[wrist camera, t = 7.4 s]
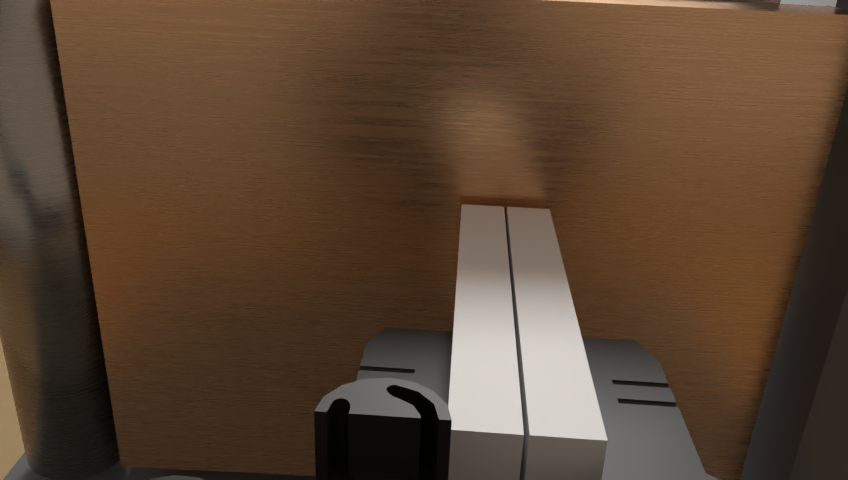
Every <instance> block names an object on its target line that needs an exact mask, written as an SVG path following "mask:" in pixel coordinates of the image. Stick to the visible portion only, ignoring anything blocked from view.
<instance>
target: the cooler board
mask: <svg viewBox="0 0 848 480" xmlns="http://www.w3.org/2000/svg"><path fill="white" fill-rule="evenodd" d="M836 8H840V9H843V10H847V11H848V0H837V4H836ZM173 475H178V476H188V477H198V478H201V479H204V480H316V476H299V475H280V474H260V473H240V472H221V471H201V470H182V469H162V468H142V467H123V466H121V463H120V461H119V462H118V463H116V464H115V465H113V466H112V467H110V468H108V469H106V470H104V471H102V472H100V473H97V474H95V475H91V476H88V477H84V478H80V479H73V480H147V479H153V478H160V477H166V476H173ZM3 480H54V479H48V478H45V477H42V476H40V475H38V474H36V473H35V472H33V471H32V470H31V468H30V467H29V465H28V462H27V458H26V453H24V454H23V455H22V457H21V458H20V459H19V460H18V462H17V463H16V464H15V465H14V467H13V468H12V469H11V470H10V472H9V473H8V474H7V475H6V477H5V478H4V479H3ZM740 480H848V88H847V91H846V95H845V99H844V102H843V106H842V110H841V113H840V117H839V121H838V124H837V128H836V131H835V135H834V139H833V142H832V146H831V150H830V153H829V157H828V161H827V164H826V168H825V172H824V175H823V179H822V183H821V186H820V190H819V193H818V197H817V201H816V204H815V208H814V212H813V215H812V219H811V223H810V226H809V230H808V234H807V237H806V241H805V244H804V248H803V252H802V255H801V259H800V263H799V266H798V270H797V274H796V277H795V281H794V285H793V288H792V292H791V295H790V299H789V303H788V306H787V310H786V314H785V317H784V321H783V325H782V328H781V332H780V336H779V339H778V343H777V347H776V350H775V354H774V357H773V361H772V365H771V368H770V372H769V376H768V379H767V383H766V387H765V390H764V394H763V398H762V401H761V405H760V408H759V412H758V416H757V419H756V423H755V427H754V430H753V434H752V438H751V441H750V445H749V449H748V452H747V456H746V459H745V463H744V467H743V470H742V474H741V478H740Z"/></svg>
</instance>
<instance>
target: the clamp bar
mask: <svg viewBox="0 0 848 480" xmlns="http://www.w3.org/2000/svg"><path fill="white" fill-rule="evenodd" d="M847 88H848V11H847V10H843V9H840V8H836V7H832V6H812V5H791V4H790V5H789V4H770V3H750V2H729V1H709V0H0V337H1V342H2V346H3V351H4V356H5V360H6V365H7V370H8V374H9V379H10V383H11V388H12V393H13V397H14V402H15V407H16V411H17V416H18V421H19V425H20V430H21V434H22V439H23V444H24V448H25V453H26V458H27V462H28V465H29V467H30V468H31V470H32V471H33V472H35V473H36V474H38V475H40V476H42V477H45V478H48V479H54V480H73V479H80V478H84V477H88V476H91V475H95V474H97V473H100V472H102V471H104V470H106V469H108V468H110V467H112V466H113V465H115V464H116V463H118V462H119V461H120V463H121V466H123V467H142V468H162V469H182V470H201V471H221V472H240V473H260V474H280V475H299V476H316V474H315V434H314V410H315V409H316V407H317V406H318V404H319V403H320V402H321V400H322V399H323V397H324V396H325V395H327V394H329V393H330V392H332V391H333V390H335V389H337V388H338V387H340V386H341V385H344V384H348V383H351V382H355V381H356V379H357V375H358V372H359V370H360V364H361V361H362V357H363V353H364V350H365V346H366V344H367V343H368V342H369V341H370V340H371V339H372V338H374V337H375V336H376V335H377V334H378V333H379V332H380V331H381V330H382V329H384V328H385V327H391V328H407V329H422V330H438V331H453V327H454V311H455V296H456V281H457V265H458V250H459V235H460V220H461V204H466V205H484V206H502V207H504V212H505V223H506V211H507V207H520V208H538V209H550V213H551V217H552V221H553V225H554V229H555V233H556V237H557V241H558V245H559V249H560V253H561V257H562V261H563V264H564V268H565V272H566V276H567V280H568V284H569V288H570V292H571V296H572V300H573V304H574V308H575V312H576V316H577V320H578V324H579V328H580V332H581V336H582V337H587V338H603V339H619V340H634V341H637V342H638V343H640V344H641V345H642V346H643V347H644V348H645V349H646V350H647V351H649V352H650V353H651V354H652V355H653V356H654V357H655V358H656V359H658V360H659V362H660V364H661V367H662V369H663V372H664V374H665V376H666V379H667V381H668V388H671V391H672V393H673V396H674V398H675V400H676V407H678V408H679V410H680V412H681V415H682V417H683V420H684V422H685V424H686V427H687V429H688V432H689V434H690V436H691V439H692V441H693V444H694V446H695V449H696V451H697V453H698V456H699V458H700V461H701V463H702V465H703V468H704V470H705V473H706V474H709V475H711V476H713V477H715V478H717V479H718V480H740V478H741V474H742V470H743V467H744V463H745V459H746V456H747V452H748V449H749V445H750V441H751V438H752V434H753V430H754V427H755V423H756V419H757V416H758V412H759V408H760V405H761V401H762V398H763V394H764V390H765V387H766V383H767V379H768V376H769V372H770V368H771V365H772V361H773V357H774V354H775V350H776V347H777V343H778V339H779V336H780V332H781V328H782V325H783V321H784V317H785V314H786V310H787V306H788V303H789V299H790V295H791V292H792V288H793V285H794V281H795V277H796V274H797V270H798V266H799V263H800V259H801V255H802V252H803V248H804V244H805V241H806V237H807V234H808V230H809V226H810V223H811V219H812V215H813V212H814V208H815V204H816V201H817V197H818V193H819V190H820V186H821V183H822V179H823V175H824V172H825V168H826V164H827V161H828V157H829V153H830V150H831V146H832V142H833V139H834V135H835V131H836V128H837V124H838V121H839V117H840V113H841V110H842V106H843V102H844V99H845V95H846V91H847Z"/></svg>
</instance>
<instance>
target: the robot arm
mask: <svg viewBox="0 0 848 480" xmlns="http://www.w3.org/2000/svg"><path fill="white" fill-rule="evenodd" d="M314 434H315V474H316V480H718V479H717V478H715V477H713V476H711V475H709V474H706V473H705V470H704V468H703V465H702V463H701V461H700V458H699V456H698V453H697V451H696V449H695V446H694V444H693V441H692V439H691V436H690V434H689V432H688V429H687V427H686V424H685V422H684V420H683V417H682V415H681V412H680V410H679V408H678V407H676V400H675V398H674V396H673V393H672V391H671V388H668V381H667V379H666V376H665V374H664V372H663V369H662V367H661V364H660V362H659V360H658V359H656V358H655V357H654V356H653V355H652V354H651V353H650V352H649V351H647V350H646V349H645V348H644V347H643V346H642V345H641V344H640V343H638V342H637V341H634V340H619V339H603V338H587V337H582V336H581V332H580V328H579V324H578V320H577V316H576V312H575V308H574V304H573V300H572V296H571V292H570V288H569V284H568V280H567V276H566V272H565V268H564V264H563V261H562V257H561V253H560V249H559V245H558V241H557V237H556V233H555V229H554V225H553V221H552V217H551V213H550V209H538V208H520V207H507V211H506V223H505V212H504V207H502V206H484V205H466V204H461V220H460V235H459V250H458V265H457V281H456V296H455V311H454V327H453V331H438V330H422V329H407V328H391V327H385V328H384V329H382V330H381V331H380V332H379V333H378V334H377V335H376V336H375V337H374V338H372V339H371V340H370V341H369V342H368V343H367V344H366V346H365V350H364V353H363V357H362V361H361V364H360V370H359V372H358V375H357V379H356V381H355V382H351V383H348V384H344V385H341V386H340V387H338V388H337V389H335V390H333V391H332V392H330V393H329V394H327V395H325V396H324V397H323V399H322V400H321V402H320V403H319V404H318V406H317V407H316V409H315V410H314ZM147 480H204V479H201V478H198V477H188V476H178V475H173V476H166V477H160V478H153V479H147Z"/></svg>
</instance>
